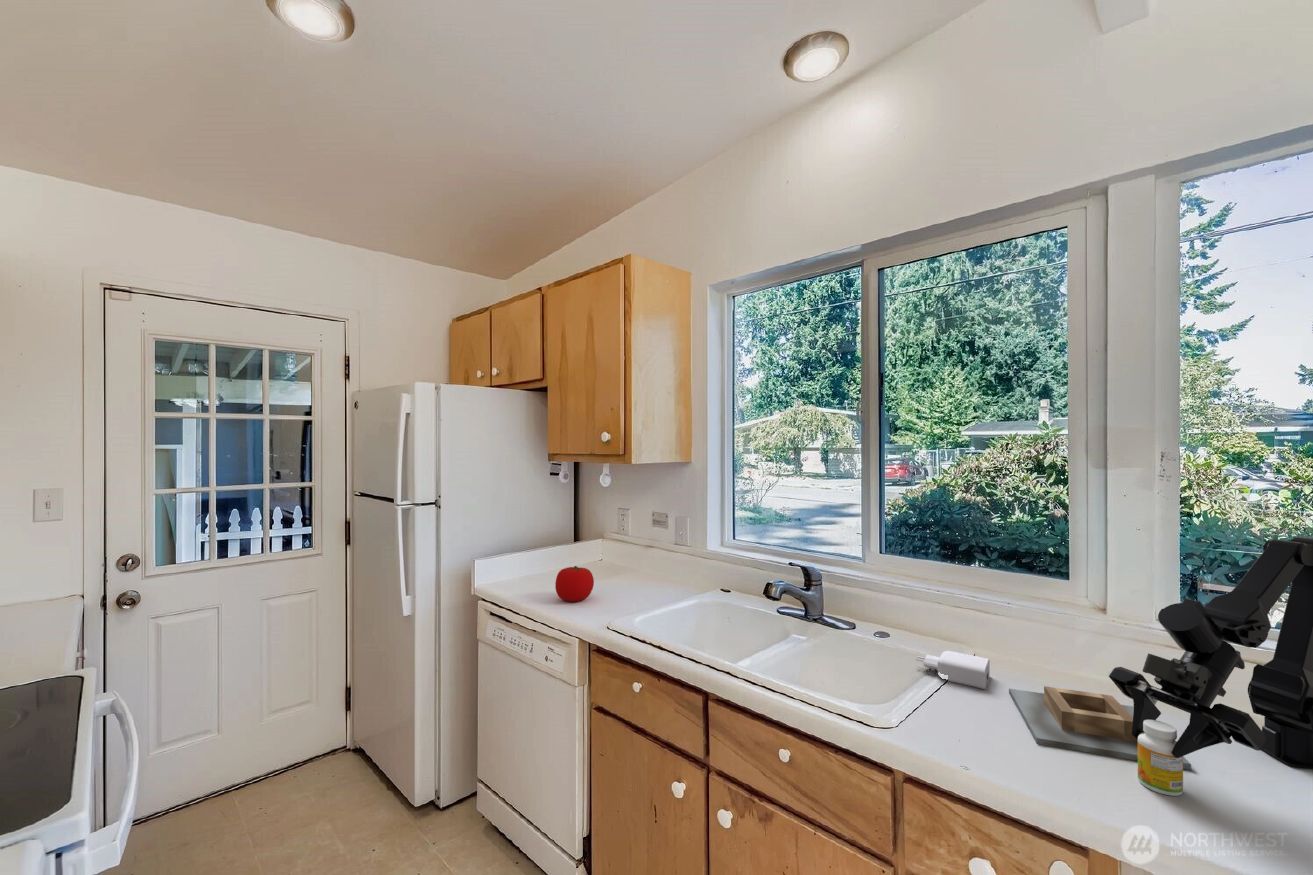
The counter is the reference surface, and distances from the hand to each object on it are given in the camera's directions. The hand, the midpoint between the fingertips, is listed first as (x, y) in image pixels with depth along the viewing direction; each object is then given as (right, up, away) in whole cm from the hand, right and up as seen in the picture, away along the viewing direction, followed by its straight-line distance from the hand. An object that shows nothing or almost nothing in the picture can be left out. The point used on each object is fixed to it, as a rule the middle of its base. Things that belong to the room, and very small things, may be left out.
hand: (1153, 746), depth 88 cm
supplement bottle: (+1, -7, 0) cm, 7 cm away
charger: (-10, -7, +43) cm, 44 cm away
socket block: (+4, -7, +19) cm, 21 cm away
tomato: (-108, -7, +104) cm, 150 cm away
